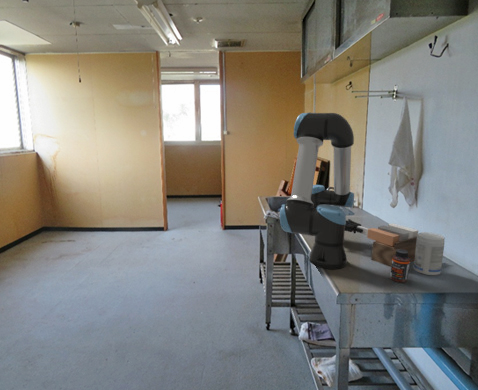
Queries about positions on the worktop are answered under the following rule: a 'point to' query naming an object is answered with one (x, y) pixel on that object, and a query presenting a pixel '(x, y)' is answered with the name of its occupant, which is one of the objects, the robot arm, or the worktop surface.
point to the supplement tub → (429, 253)
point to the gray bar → (395, 232)
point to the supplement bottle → (400, 266)
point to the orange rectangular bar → (383, 236)
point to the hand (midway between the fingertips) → (370, 232)
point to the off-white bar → (411, 231)
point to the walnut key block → (393, 250)
